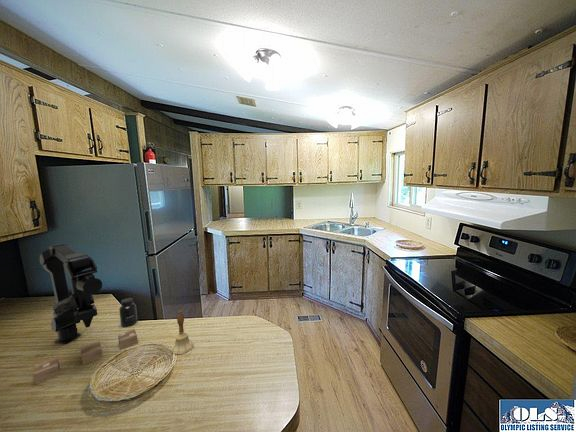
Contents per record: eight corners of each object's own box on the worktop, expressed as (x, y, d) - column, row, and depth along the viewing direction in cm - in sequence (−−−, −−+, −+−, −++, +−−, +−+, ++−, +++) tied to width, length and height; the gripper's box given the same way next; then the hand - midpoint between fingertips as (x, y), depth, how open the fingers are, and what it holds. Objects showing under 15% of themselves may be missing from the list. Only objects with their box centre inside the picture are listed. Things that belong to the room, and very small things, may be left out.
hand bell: (182, 339, 104) (179, 304, 102) (198, 343, 101) (194, 307, 99) (166, 352, 97) (162, 314, 95) (182, 356, 94) (179, 318, 92)
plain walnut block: (81, 357, 95) (80, 348, 95) (100, 350, 100) (99, 341, 99) (83, 365, 91) (81, 355, 91) (103, 357, 95) (101, 347, 95)
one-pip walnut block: (36, 375, 87) (35, 364, 86) (59, 366, 91) (58, 356, 90) (35, 385, 83) (33, 374, 82) (59, 375, 87) (57, 365, 86)
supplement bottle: (129, 328, 114) (126, 304, 113) (117, 326, 116) (114, 303, 114) (141, 320, 121) (138, 297, 120) (129, 318, 123) (126, 296, 121)
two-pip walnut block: (119, 343, 104) (117, 334, 103) (135, 337, 108) (134, 328, 107) (121, 350, 99) (119, 340, 99) (137, 343, 103) (136, 334, 103)
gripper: (53, 287, 93) (59, 325, 95) (51, 304, 79) (58, 348, 82) (90, 279, 101) (95, 314, 103) (94, 293, 87) (100, 334, 89)
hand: (87, 326), depth 94 cm, fingers closed
